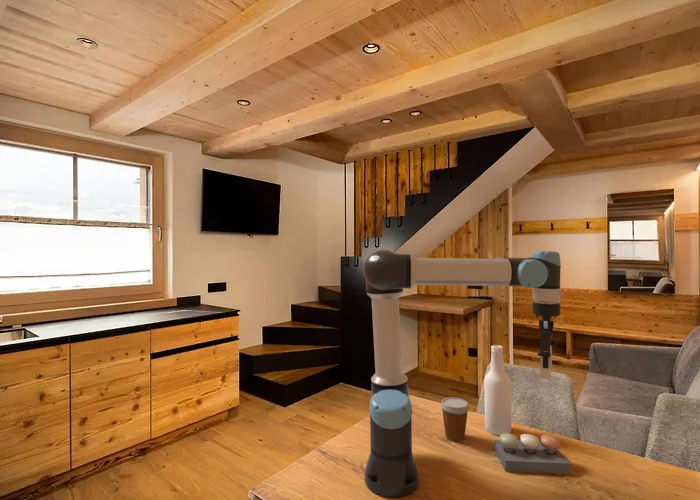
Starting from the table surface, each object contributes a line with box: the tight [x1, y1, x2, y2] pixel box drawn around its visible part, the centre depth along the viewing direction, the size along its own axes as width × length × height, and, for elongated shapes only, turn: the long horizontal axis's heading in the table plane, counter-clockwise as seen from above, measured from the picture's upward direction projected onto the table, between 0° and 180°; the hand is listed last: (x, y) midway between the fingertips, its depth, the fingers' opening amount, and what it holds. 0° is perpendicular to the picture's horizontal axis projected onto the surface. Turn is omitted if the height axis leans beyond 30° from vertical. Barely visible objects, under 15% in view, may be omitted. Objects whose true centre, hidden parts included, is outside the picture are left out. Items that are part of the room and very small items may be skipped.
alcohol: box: [483, 344, 512, 437], centre depth 134 cm, size 9×9×30 cm
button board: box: [493, 439, 571, 475], centre depth 115 cm, size 18×12×3 cm, turn 84°
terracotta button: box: [540, 434, 561, 455], centre depth 114 cm, size 5×5×5 cm
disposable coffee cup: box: [440, 397, 470, 442], centre depth 129 cm, size 10×10×12 cm
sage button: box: [499, 433, 519, 453], centre depth 115 cm, size 5×5×5 cm
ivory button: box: [519, 433, 540, 454], centre depth 115 cm, size 5×5×5 cm
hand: (546, 371), depth 114 cm, fingers open, 13 cm apart
